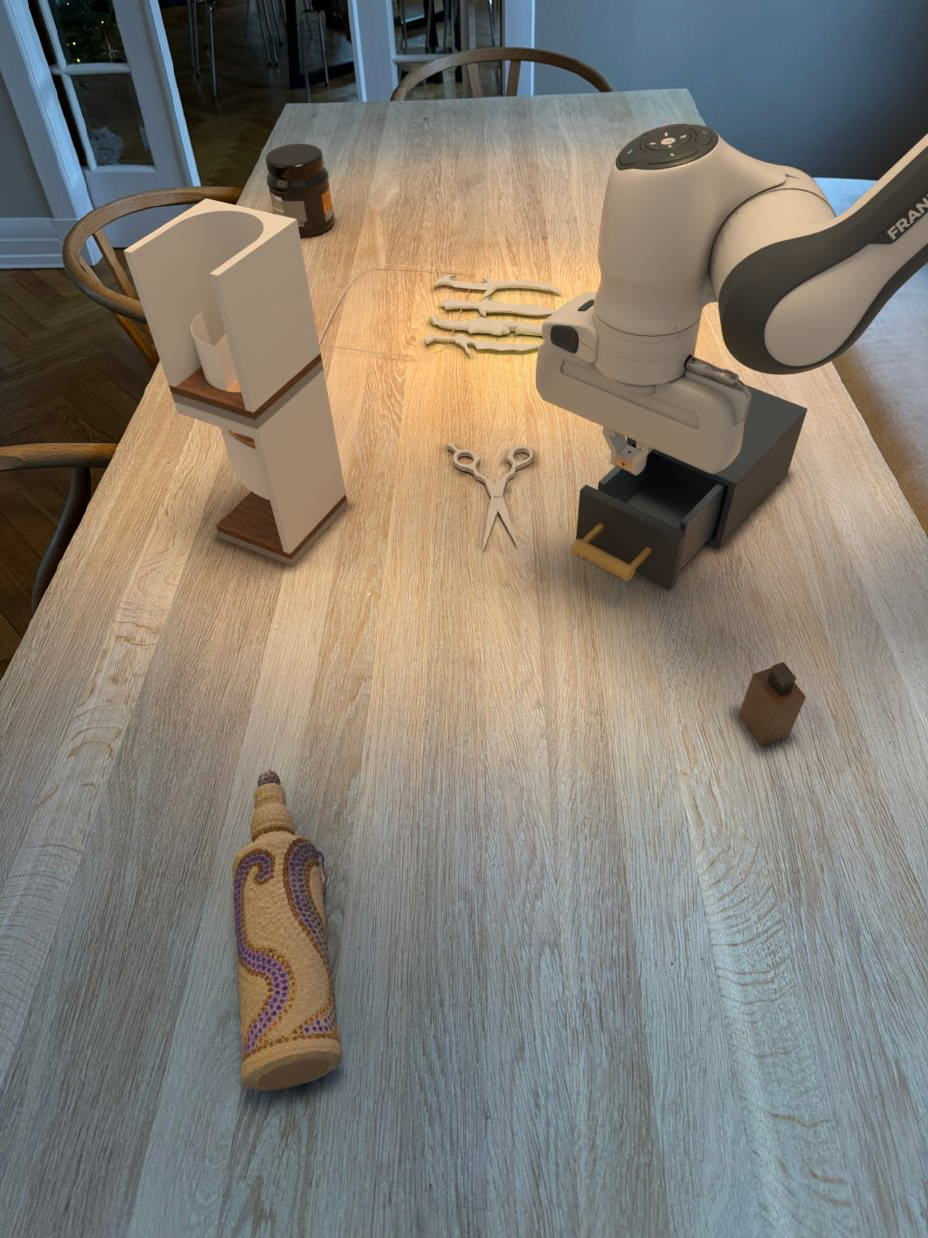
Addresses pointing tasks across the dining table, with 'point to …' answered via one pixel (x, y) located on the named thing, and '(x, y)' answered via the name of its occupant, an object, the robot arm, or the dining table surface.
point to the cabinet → (754, 459)
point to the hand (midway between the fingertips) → (627, 466)
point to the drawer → (648, 519)
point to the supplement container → (300, 187)
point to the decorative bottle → (282, 951)
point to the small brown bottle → (772, 704)
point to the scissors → (493, 489)
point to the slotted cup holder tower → (247, 365)
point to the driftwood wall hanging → (484, 307)
